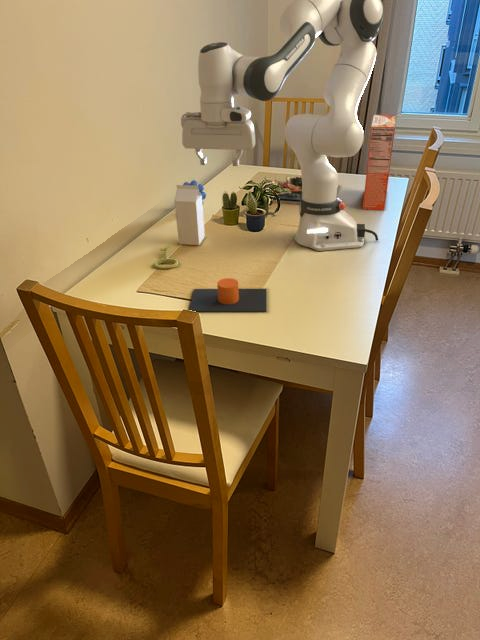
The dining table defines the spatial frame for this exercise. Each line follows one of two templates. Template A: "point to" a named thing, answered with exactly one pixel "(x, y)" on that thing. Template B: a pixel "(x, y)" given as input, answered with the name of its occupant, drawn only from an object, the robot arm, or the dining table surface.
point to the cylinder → (228, 291)
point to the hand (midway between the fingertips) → (219, 165)
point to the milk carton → (189, 215)
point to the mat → (247, 303)
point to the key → (166, 260)
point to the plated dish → (289, 190)
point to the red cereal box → (379, 161)
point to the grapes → (198, 188)
